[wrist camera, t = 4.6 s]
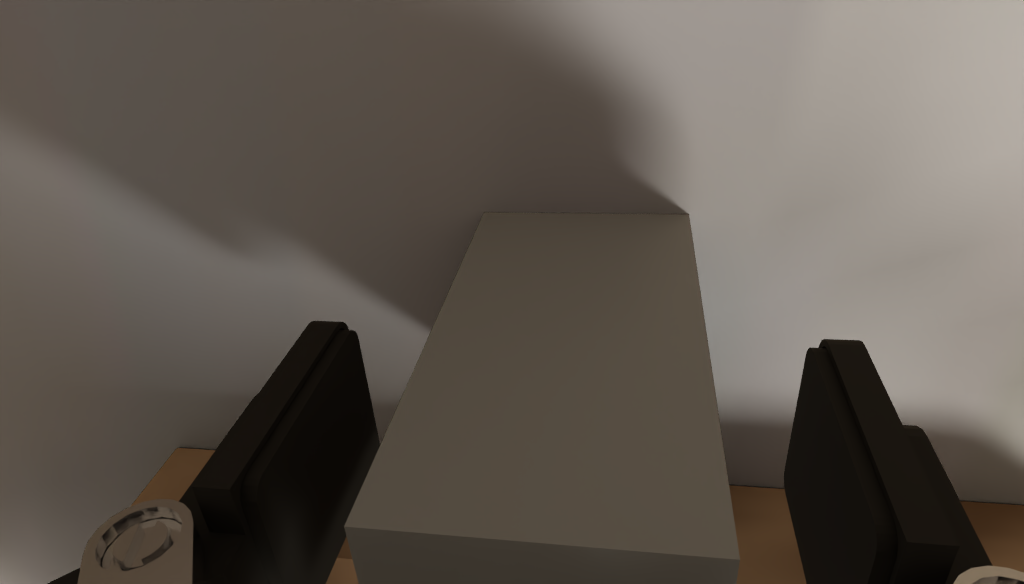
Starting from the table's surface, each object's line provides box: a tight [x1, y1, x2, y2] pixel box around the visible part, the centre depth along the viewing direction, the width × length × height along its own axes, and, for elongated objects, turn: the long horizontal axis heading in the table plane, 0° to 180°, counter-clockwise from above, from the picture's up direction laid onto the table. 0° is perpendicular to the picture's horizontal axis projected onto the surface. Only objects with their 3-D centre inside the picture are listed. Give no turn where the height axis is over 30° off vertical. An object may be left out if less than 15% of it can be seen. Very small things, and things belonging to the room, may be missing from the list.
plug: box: [344, 212, 740, 584], centre depth 12 cm, size 4×4×8 cm
